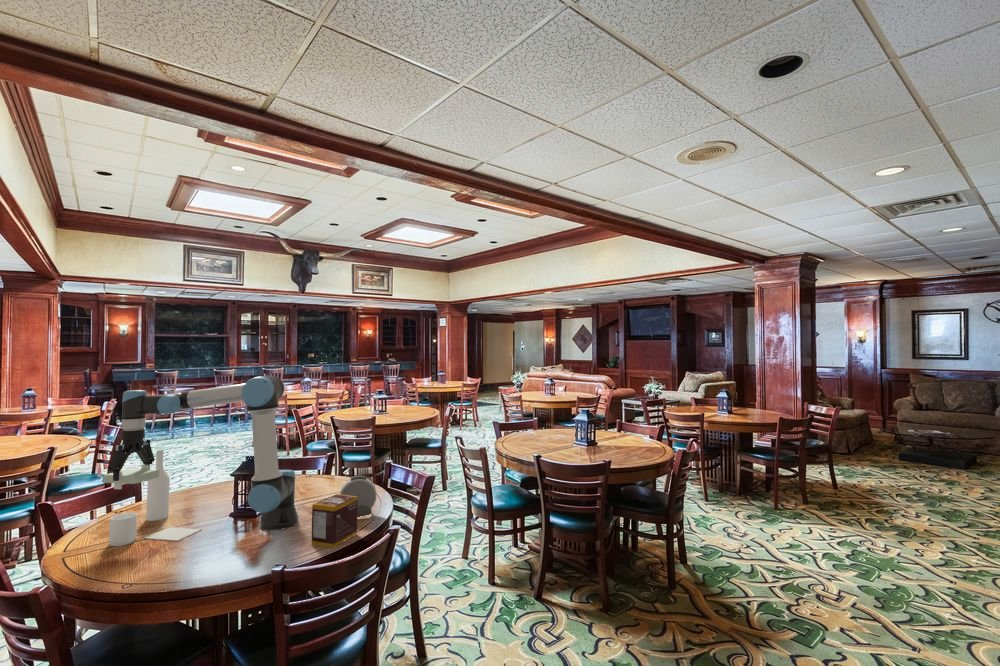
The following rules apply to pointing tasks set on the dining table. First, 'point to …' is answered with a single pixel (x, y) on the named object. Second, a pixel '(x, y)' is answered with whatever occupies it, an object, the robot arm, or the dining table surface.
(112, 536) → the cup
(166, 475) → the bottle
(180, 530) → the mat
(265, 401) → the robot arm
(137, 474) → the board
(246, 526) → the dining table surface
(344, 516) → the supplement box
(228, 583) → the dining table surface
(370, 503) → the alarm clock
